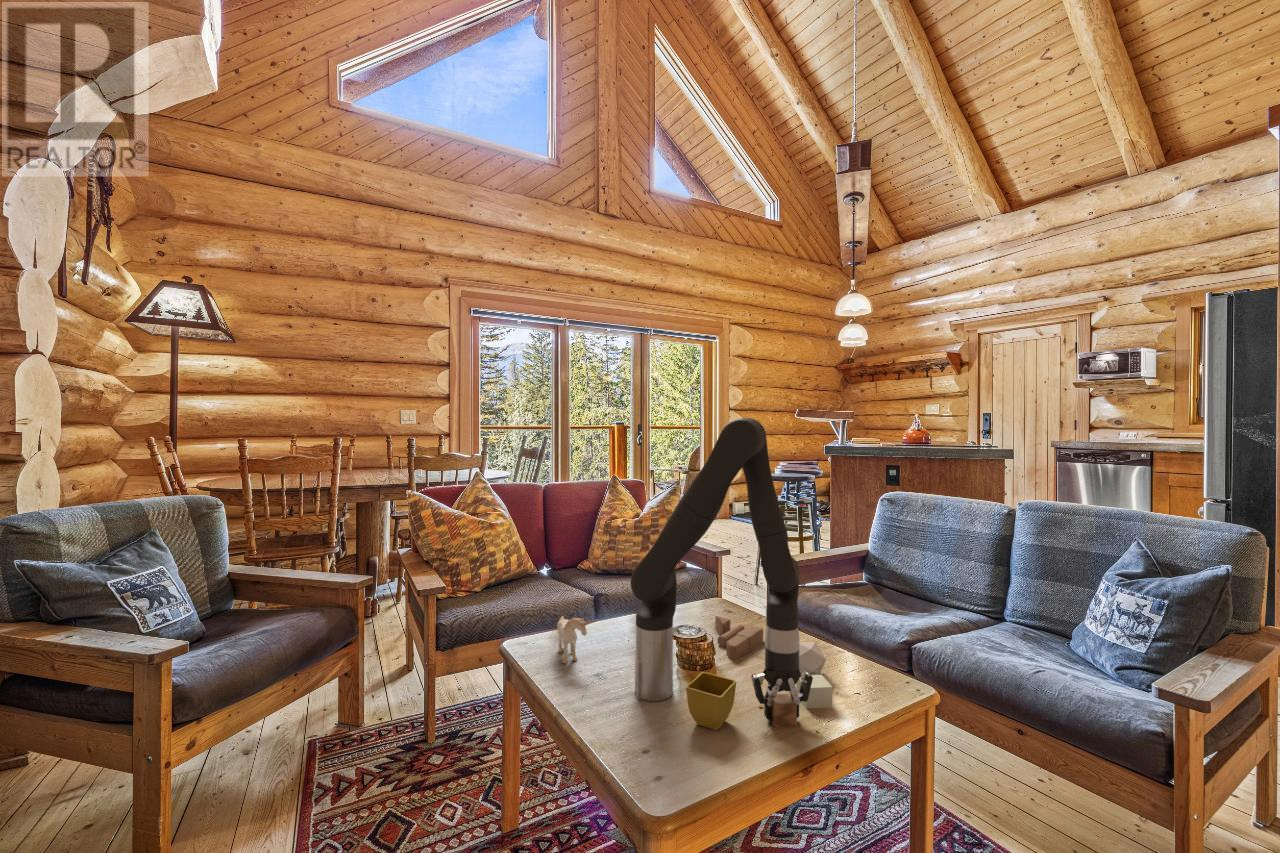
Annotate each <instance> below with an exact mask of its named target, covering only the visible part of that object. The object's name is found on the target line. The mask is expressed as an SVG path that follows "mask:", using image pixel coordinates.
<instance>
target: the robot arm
mask: <svg viewBox="0 0 1280 853" xmlns="http://www.w3.org/2000/svg"><path fill="white" fill-rule="evenodd" d="M768 449H769V448H768V440H767V432H766V430H765V427H764V426H763V424H761V422H759V421H758V420H757V419H755V418H751V417H740V418H736V419H732V420H730V421H729V422H727V423H726V424H725V425H724V426H723V428H722V429H721V432H720V433H719V436H718V437H717V440H716V442H715V444H714V446H713V448H712V450H711V452H710V454H709V456H708V458H707V460H706V462H705V464H704V465H703V466H702V468H701V469H700V470H699V472H698V473H697V475H696V476H695V477H694V479H693V480H692V482H691V483H690V485H689V486H688V487H687V489H686V490H685V492H684V493H683V494H682V497H680V499H679V501H678V503H677V504H676V506H675V508H674V509H673V512H672V513H671V515H670V516H669V518H668V519H667V521H666V523H665V525H664V526H663V528H662V530H661V531H660V533H659V536H658V537H657V539H656V540H655V542H654V544H653V545H652V547H651V548H650V550H649V551H647V553H646V554H645V556H644V557H643V559H641V561H640V562H639V563H638V565H637V566H636V567H635V568H634V569H633V572H632V573H631V577H630V588H631V591H632V594H633V595H634V597H635V598H636V599H638V600H639V601H641V603H640V604H639V608H638V610H637V611H636V613H635V614H636V615H635V650H634V690H635V695H636V699H637V700H644V701H649V702H660V701H661V702H662V701H665V700H667V699H670V698H671V697H672V696H673V694H674V616H675V613H676V608H677V587H678V586H677V585H678V584H677V582H678V581H677V572H676V567H677V566H678V564H679V563H680V561H681V560H682V559H683V558H684V557H685V556H686V554H688V553H689V552H690V551H691V549H693V548H694V547H695V546H696V544H697V543H698V542H699V541H700V540H701V539H702V538H703V537H704V535H705V534H706V532H708V530H709V528H710V527H711V525H712V524H713V523H714V521H715V520H716V518H717V516H718V515H719V513H720V511H721V509H722V506H723V505H724V502H725V499H726V496H727V493H728V490H729V489H730V486H731V484H732V482H733V481H734V479H735V478H736V476H737V474H738V473H739V472H740V471H741V470H742V472H743V475H744V478H745V482H746V490H747V500H748V501H747V502H748V510H749V517H750V519H751V523H752V524H751V525H752V528H753V532H754V535H755V537H756V541H757V543H758V548H759V555H760V562H761V567H762V572H763V576H764V578H765V581H766V584H767V585H768V598H767V603H766V607H765V610H766V613H765V615H766V616H765V617H766V618H765V619H766V620H765V623H766V624H765V626H766V627H765V631H764V632H765V633H764V669H763V672H762V673H759V674H756V673H751V676H750V677H751V682H752V686H753V690H754V694H755V698H756V699H757V701H758V703H759V704H760V705H763V707H764V708H763V709H764V710H763V711H764V712H763V713H764V717H765V718H766V720H767V721H768V722H769V723H771V722H772V721H773V706H772V703H773V701H774V698H775V697H776V696H777V694H779V693H780V692H783V691H784V692H788V694H789V695H790V696H791V698H792V699H793V700H794V702H795V703H796V704H797V719H796V722H797V721H798V718H799V716H800V704H801V703H802V701H804V702H806V701H807V700H808V697H809V693H810V689H811V684H812V680H813V677H812V676H811V675H810V673H809V672H808V671H805V672H800V670H799V642H800V632H799V631H800V630H799V608H798V607H799V606H798V603H799V602H798V601H799V600H798V598H799V586H800V566H799V564H798V561H797V560H796V559H795V558H794V557H793V556H792V554H791V551H790V547H789V534H788V530H787V526H786V523H785V520H784V516H783V513H782V509H781V506H780V503H779V499H778V495H777V491H776V488H775V484H774V480H773V476H772V469H771V463H770V460H769V450H768ZM800 677H801V681H802V682H801V686H800V691H799V694H798V693H797V686H796V685H797V682H798V680H799V679H800ZM764 680H765V681H766V682H767V683H766V684H767V685H766V688H765V694H764V693H763V689H762V686H763V684H764Z"/></svg>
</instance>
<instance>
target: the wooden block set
mask: <svg viewBox="0 0 1280 853" xmlns="http://www.w3.org/2000/svg"><path fill="white" fill-rule="evenodd" d="M714 616H715V617H714V622H715V625H714V629H715V631H716V632H717V633H718V634H719V636H718V637H717V644H718V646H720V647H722V648H726V655H727V657H728V658H729V659H731V660H734V661H736V660H738V659H740V658H741V657H743V655H744V654H747V653H749V652H751V651H753V650H754V649H755V648H757V647H758V646H759V645H761V644H762V643H763V642H764V629H763V627H759V626H756V625H748V626H747V627H745V626H744V625H742V624H737V625H736V626H733V628H731V619H729V618H726V617H722V616H717V615H714Z"/></svg>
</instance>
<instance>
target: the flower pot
mask: <svg viewBox="0 0 1280 853" xmlns="http://www.w3.org/2000/svg"><path fill="white" fill-rule="evenodd" d="M736 688H737V680H734V679H732V678H728V677H725V676H720V675H717V674H713V673H709V672H706V671H705V672H704V671H702V672H700V673H699V674H698V675H697V676H696V677H695V678H694V679H693V680H692V681H690V682H689V683H688V684H687V685H686V687H685V690H686V691H685V692H686V699H687V706H688V710H689V712H690V715H691V718H692V719H693V721H694V722H695V723H696V724H697V725H699V726H701V727H702V726H703V727H705V728H708V729H712V730H714V731H718V730H719V729H720V728H721V726H723V724H725V722H726V721H727V719H728V717H729V715H730V714H731V711H732V709H733V706H734V702H735V696H736Z"/></svg>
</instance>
